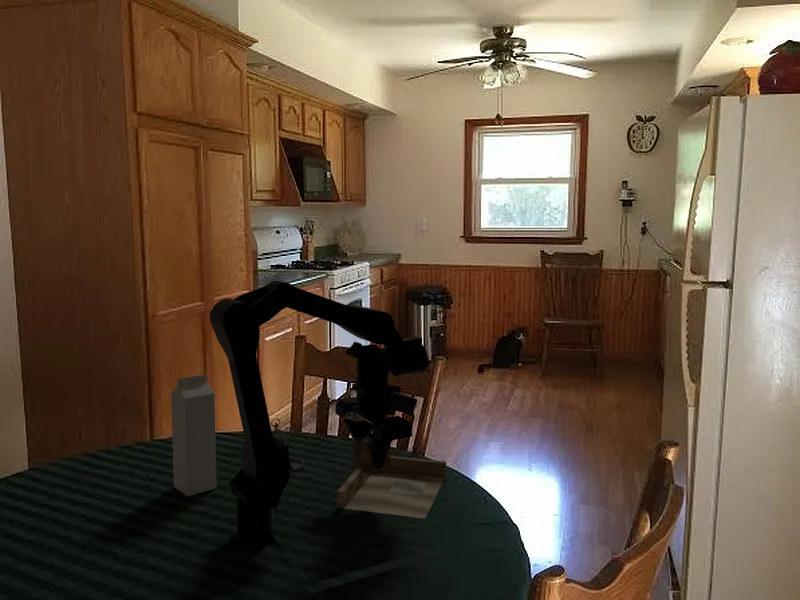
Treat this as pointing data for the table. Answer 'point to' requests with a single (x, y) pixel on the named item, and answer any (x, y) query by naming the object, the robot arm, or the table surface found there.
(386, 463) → the walnut block
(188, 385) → the milk
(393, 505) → the board
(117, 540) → the table surface
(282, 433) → the pocket watch
